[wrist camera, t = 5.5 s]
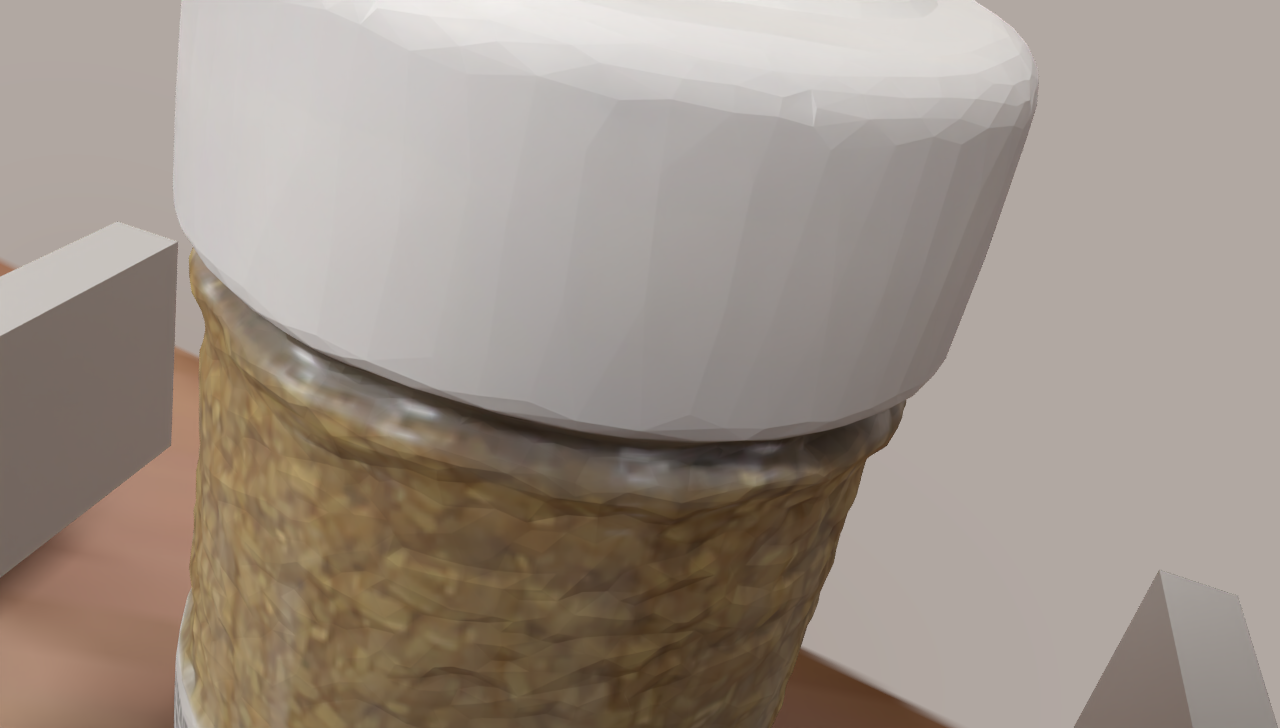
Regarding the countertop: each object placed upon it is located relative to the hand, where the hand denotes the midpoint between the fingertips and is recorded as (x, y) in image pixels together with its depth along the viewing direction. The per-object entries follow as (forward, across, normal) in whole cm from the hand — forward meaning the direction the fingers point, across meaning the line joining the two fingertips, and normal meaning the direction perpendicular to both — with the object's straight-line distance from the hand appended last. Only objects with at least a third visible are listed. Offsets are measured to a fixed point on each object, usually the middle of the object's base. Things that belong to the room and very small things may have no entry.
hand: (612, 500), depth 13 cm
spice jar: (-4, 0, -7) cm, 8 cm away
